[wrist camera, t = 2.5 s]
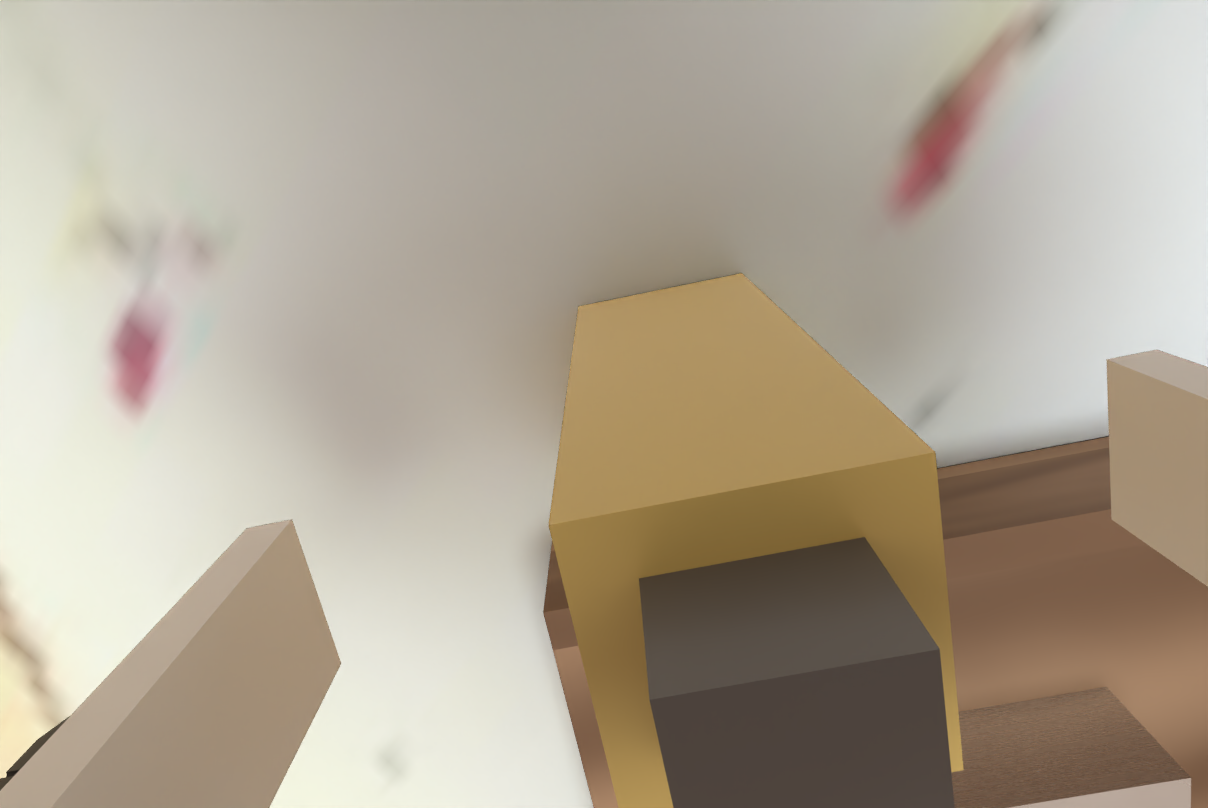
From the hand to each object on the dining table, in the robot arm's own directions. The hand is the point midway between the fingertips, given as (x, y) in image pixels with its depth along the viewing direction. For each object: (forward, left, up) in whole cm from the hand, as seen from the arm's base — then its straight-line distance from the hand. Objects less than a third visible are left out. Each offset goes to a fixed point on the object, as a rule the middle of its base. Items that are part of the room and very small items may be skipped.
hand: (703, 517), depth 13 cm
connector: (0, 0, -8) cm, 8 cm away
